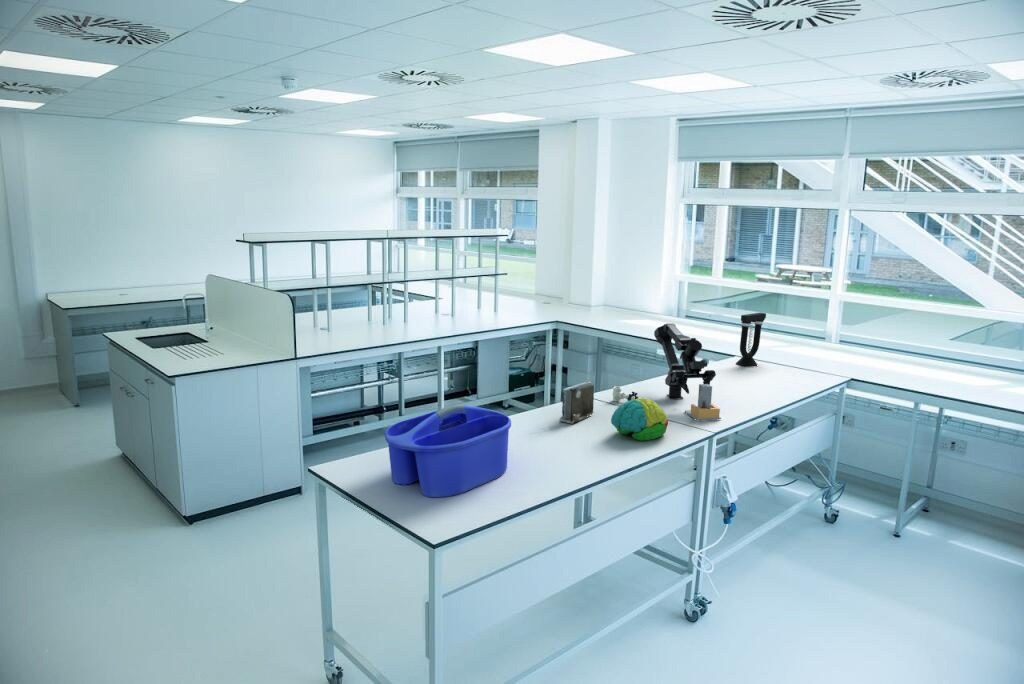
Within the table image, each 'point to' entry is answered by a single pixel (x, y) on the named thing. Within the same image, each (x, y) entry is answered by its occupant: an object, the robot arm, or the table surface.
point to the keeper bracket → (704, 412)
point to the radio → (577, 402)
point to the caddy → (449, 449)
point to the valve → (622, 395)
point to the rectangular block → (704, 395)
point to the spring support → (746, 321)
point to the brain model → (640, 419)
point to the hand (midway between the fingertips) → (698, 393)
